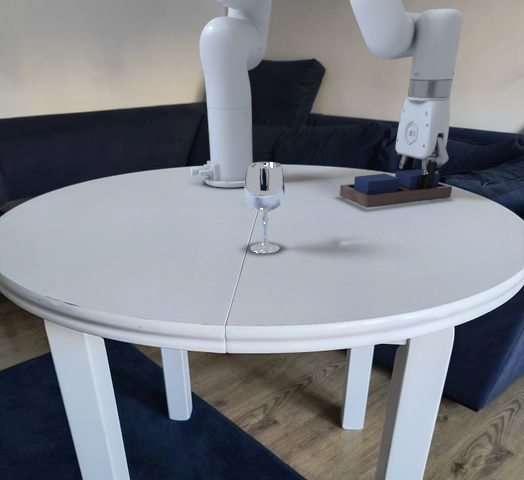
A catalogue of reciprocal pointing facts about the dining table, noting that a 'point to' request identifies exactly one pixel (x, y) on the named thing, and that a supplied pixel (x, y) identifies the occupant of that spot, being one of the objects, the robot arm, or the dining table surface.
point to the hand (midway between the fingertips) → (414, 190)
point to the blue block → (376, 184)
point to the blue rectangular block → (413, 179)
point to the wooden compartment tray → (394, 195)
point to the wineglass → (264, 195)
